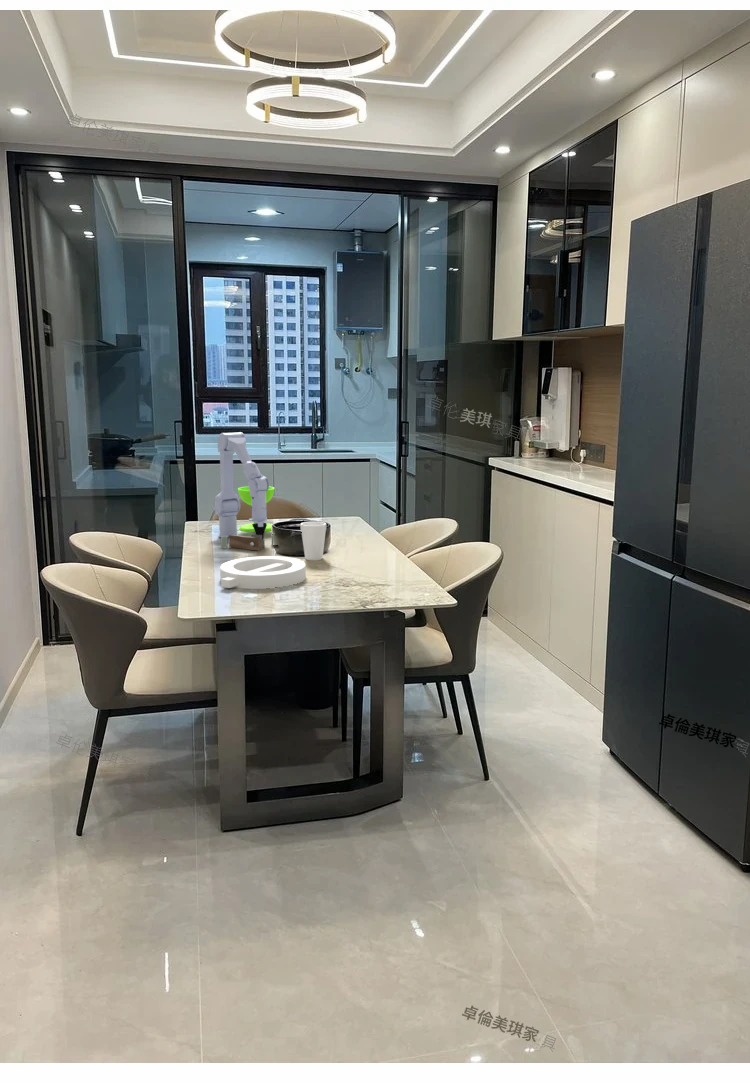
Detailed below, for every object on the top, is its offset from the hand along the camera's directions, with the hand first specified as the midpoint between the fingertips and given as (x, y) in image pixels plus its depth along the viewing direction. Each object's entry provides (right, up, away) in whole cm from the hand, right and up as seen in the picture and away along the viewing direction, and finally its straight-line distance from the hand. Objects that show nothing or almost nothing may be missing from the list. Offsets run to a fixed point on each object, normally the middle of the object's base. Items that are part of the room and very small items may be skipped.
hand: (259, 541), depth 317 cm
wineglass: (-6, +5, +35) cm, 36 cm away
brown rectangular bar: (-5, -3, -8) cm, 10 cm away
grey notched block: (0, -2, -4) cm, 5 cm away
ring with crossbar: (+9, -13, -52) cm, 54 cm away
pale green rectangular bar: (-4, -2, -3) cm, 5 cm away
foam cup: (+23, -6, -23) cm, 34 cm away
